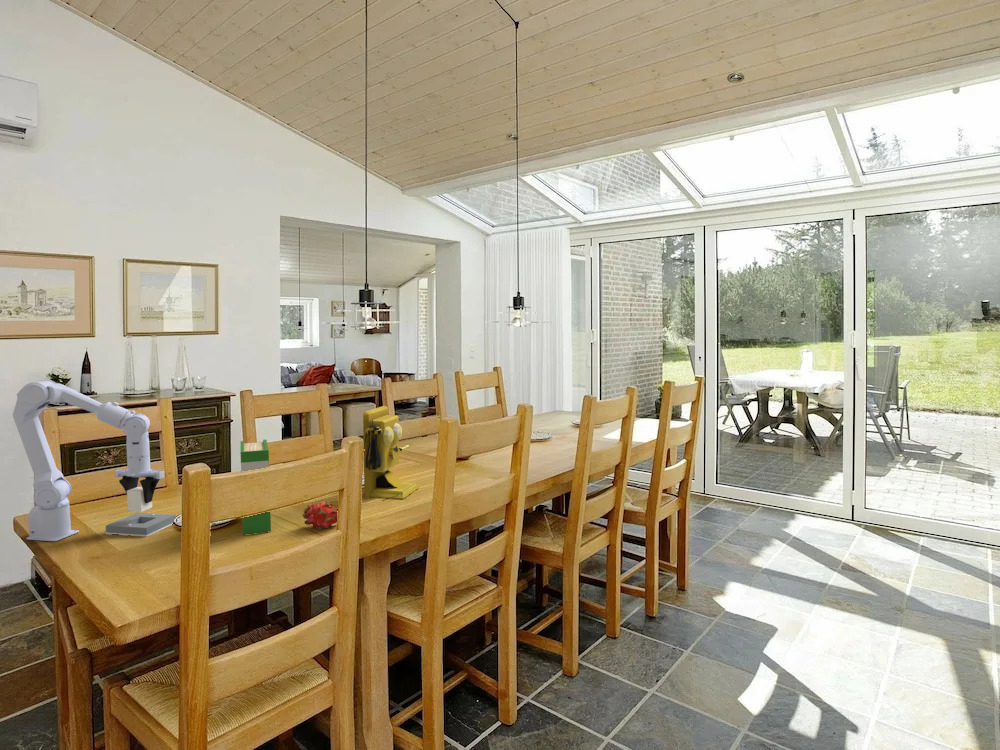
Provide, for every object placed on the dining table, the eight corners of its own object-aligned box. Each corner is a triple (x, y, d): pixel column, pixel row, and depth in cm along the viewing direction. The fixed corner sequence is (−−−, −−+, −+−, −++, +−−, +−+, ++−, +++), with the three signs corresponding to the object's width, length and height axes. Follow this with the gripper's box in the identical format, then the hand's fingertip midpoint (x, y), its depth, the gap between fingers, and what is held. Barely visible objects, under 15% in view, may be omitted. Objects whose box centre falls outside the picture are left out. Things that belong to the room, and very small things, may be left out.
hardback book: (243, 517, 190) (240, 441, 188) (268, 514, 192) (266, 439, 190) (243, 535, 173) (240, 452, 171) (270, 532, 176) (268, 450, 174)
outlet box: (106, 534, 174) (105, 524, 174) (137, 520, 186) (136, 512, 186) (146, 536, 172) (146, 527, 172) (175, 523, 184) (175, 514, 184)
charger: (127, 511, 176) (126, 490, 176) (139, 506, 181) (138, 486, 180) (141, 511, 176) (140, 491, 175) (152, 507, 180) (151, 487, 179)
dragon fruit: (299, 533, 180) (341, 535, 183) (300, 524, 173) (344, 526, 176) (303, 505, 184) (344, 508, 187) (304, 495, 177) (346, 498, 181)
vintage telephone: (392, 507, 200) (391, 417, 198) (353, 504, 203) (352, 415, 201) (425, 483, 230) (425, 404, 228) (391, 481, 234) (390, 403, 231)
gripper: (105, 458, 174) (107, 504, 175) (151, 459, 172) (153, 507, 173) (124, 452, 181) (126, 497, 182) (168, 454, 179) (170, 499, 180)
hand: (140, 501), depth 178 cm, fingers closed on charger, 4 cm apart
